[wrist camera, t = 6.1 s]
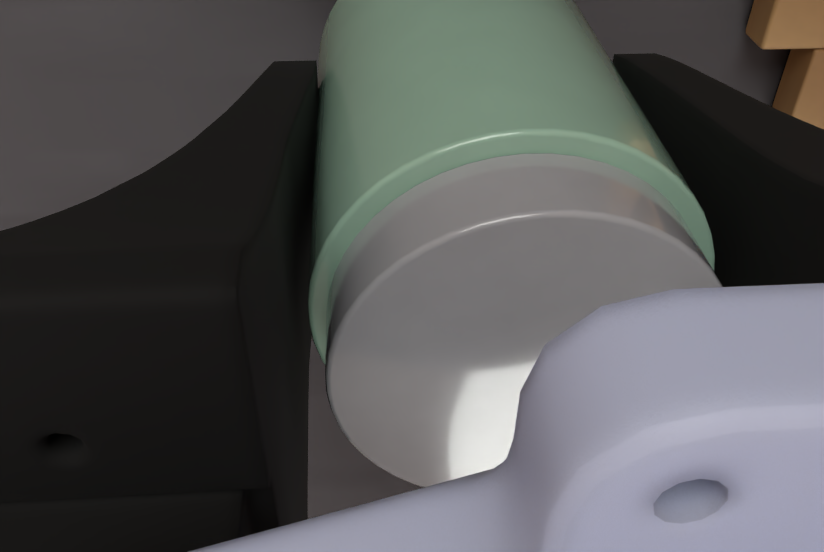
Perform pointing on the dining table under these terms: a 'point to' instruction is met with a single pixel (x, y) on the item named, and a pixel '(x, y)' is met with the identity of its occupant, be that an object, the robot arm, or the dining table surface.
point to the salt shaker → (475, 217)
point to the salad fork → (794, 53)
